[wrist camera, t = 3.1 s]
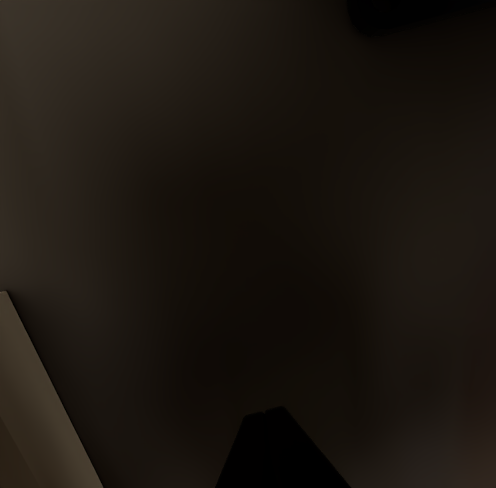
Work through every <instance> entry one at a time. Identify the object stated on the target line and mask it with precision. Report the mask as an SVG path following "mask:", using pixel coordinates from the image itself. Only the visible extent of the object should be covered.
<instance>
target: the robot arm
mask: <svg viewBox="0 0 496 488" xmlns="http://www.w3.org/2000/svg"><path fill="white" fill-rule="evenodd" d="M495 5H496V0H391V6H390V10H389V12H380V11H379V10H378V9H376V8H375V7H374V4H373V2H372V0H347V7H348V13H349V16H350V18H351V21H352V24H353V25H354V26H355V27H356V29H357V30H358V31H359V32H360V33H362V34H365V35H367V36H369V37H374V36H383V35H387V34H391V33H394V32H398V31H402V30H406V29H409V28H413V27H417V26H421V25H424V24H428V23H432V22H435V21H439V20H443V19H447V18H450V17H454V16H458V15H462V14H465V13H469V12H473V11H476V10H480V9H484V8H488V7H491V6H495ZM215 488H351V487H350V486H349V484H348V483H347V482H346V481H345V480H344V478H343V477H342V476H341V475H340V474H339V472H338V471H337V470H336V469H335V467H334V466H333V465H332V464H331V463H330V461H329V460H328V459H327V458H326V457H325V455H324V454H323V453H322V452H321V451H320V449H319V448H318V447H317V446H316V445H315V443H314V442H313V441H312V440H311V438H310V437H309V436H308V435H307V434H306V432H305V431H304V430H303V429H302V428H301V426H300V425H299V424H298V423H297V422H296V420H295V419H294V418H293V417H292V416H291V414H290V413H289V412H288V411H287V409H286V408H284V407H283V406H280V407H276V408H272V409H268V410H266V411H265V414H264V413H263V412H257V413H253V414H249V415H246V416H245V417H244V418H243V421H242V423H241V426H240V428H239V431H238V433H237V435H236V438H235V440H234V443H233V445H232V448H231V450H230V452H229V455H228V457H227V460H226V462H225V465H224V467H223V469H222V472H221V474H220V477H219V479H218V482H217V484H216V486H215Z"/></svg>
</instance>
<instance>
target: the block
mask: <svg viewBox="0 0 496 488" xmlns="http://www.w3.org/2000/svg"><path fill="white" fill-rule="evenodd" d="M0 488H103V486H102V484H101V482H100V480H99V478H98V476H97V474H96V472H95V469H94V467H93V465H92V463H91V461H90V459H89V457H88V455H87V453H86V451H85V449H84V447H83V445H82V443H81V441H80V439H79V437H78V435H77V433H76V431H75V429H74V427H73V425H72V423H71V421H70V419H69V417H68V415H67V413H66V411H65V409H64V407H63V405H62V403H61V401H60V399H59V397H58V395H57V393H56V391H55V389H54V387H53V385H52V383H51V381H50V378H49V376H48V374H47V372H46V370H45V368H44V366H43V364H42V362H41V360H40V358H39V356H38V354H37V352H36V350H35V348H34V346H33V344H32V342H31V340H30V338H29V336H28V334H27V332H26V330H25V328H24V326H23V324H22V322H21V320H20V318H19V316H18V314H17V312H16V310H15V308H14V306H13V304H12V302H11V300H10V298H9V296H8V294H7V292H6V291H2V292H0Z"/></svg>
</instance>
